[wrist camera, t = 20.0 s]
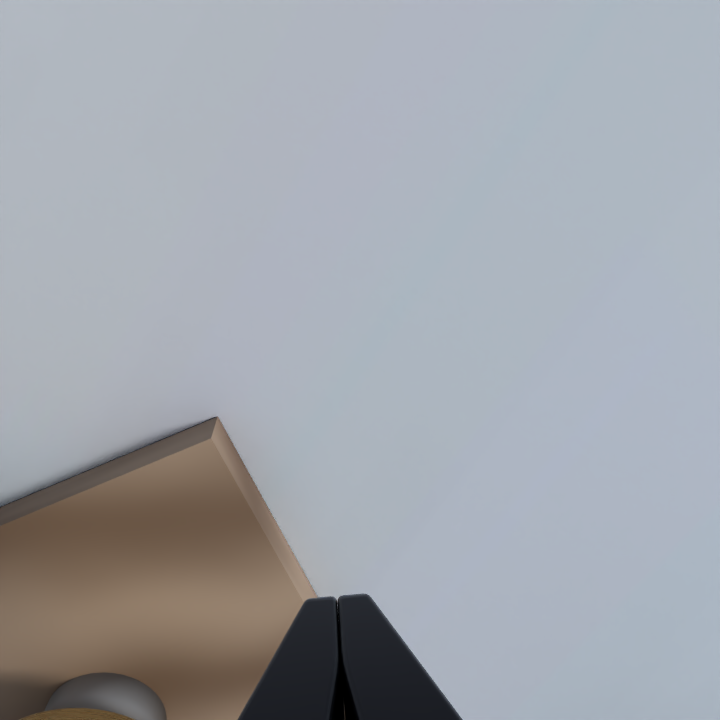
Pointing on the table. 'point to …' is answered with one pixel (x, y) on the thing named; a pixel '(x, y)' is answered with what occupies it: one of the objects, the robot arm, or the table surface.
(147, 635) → the base
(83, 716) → the beige elongated piece
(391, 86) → the table surface
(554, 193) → the table surface
